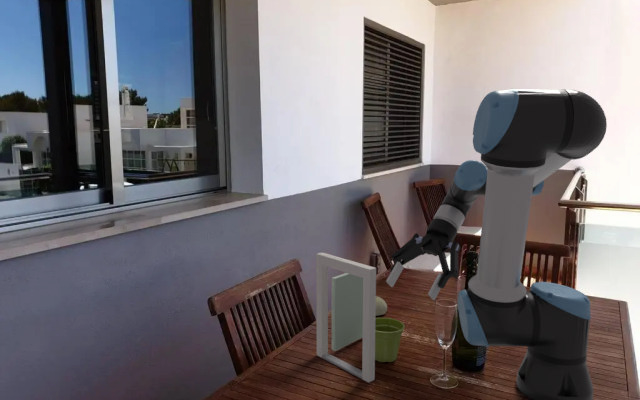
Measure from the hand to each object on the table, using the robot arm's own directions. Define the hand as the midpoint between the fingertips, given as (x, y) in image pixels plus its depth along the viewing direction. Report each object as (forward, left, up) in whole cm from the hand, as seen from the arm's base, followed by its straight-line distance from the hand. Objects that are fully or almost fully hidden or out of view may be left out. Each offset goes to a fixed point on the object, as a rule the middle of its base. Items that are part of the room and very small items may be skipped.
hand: (409, 290), depth 129 cm
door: (+11, +11, -14) cm, 21 cm away
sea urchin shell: (+23, -11, -16) cm, 29 cm away
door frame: (+3, +20, -15) cm, 26 cm away
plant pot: (0, +9, -15) cm, 18 cm away
